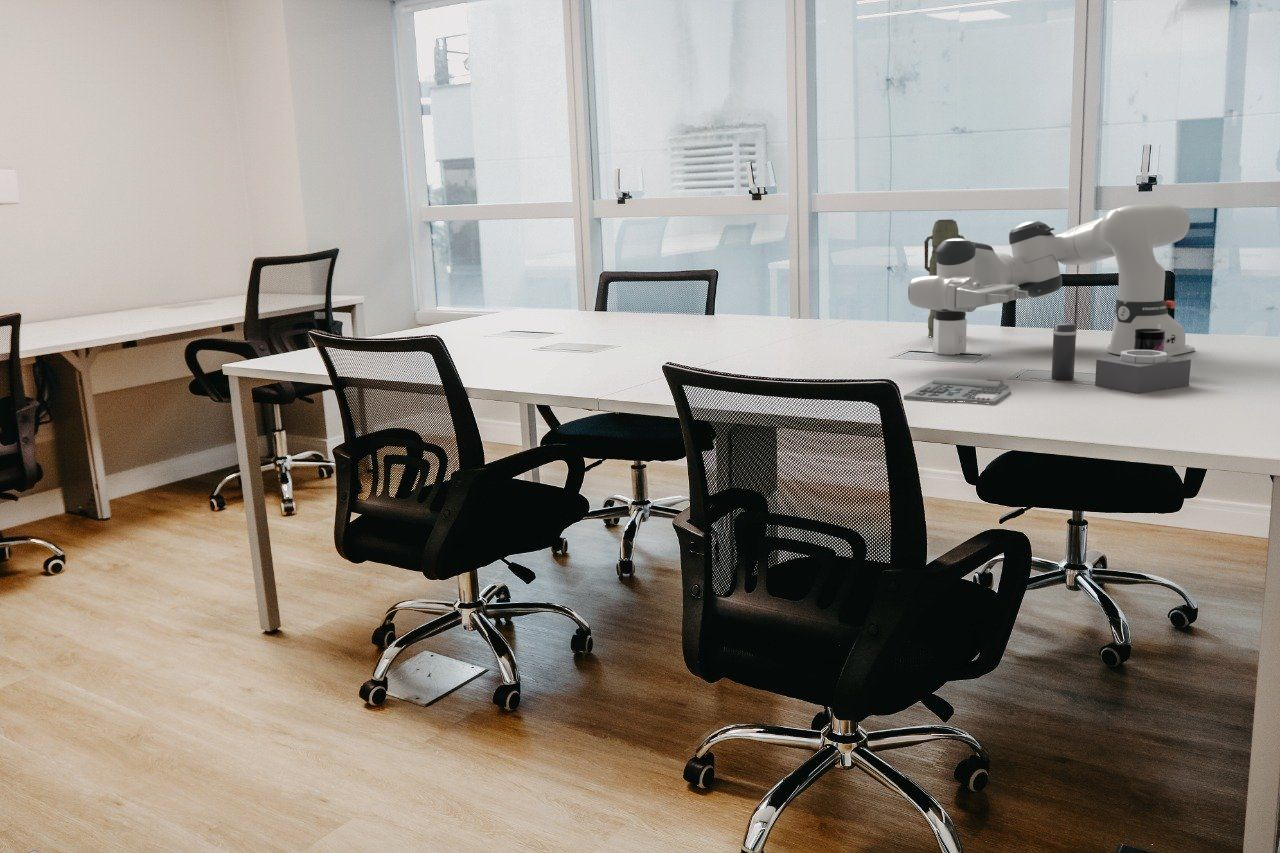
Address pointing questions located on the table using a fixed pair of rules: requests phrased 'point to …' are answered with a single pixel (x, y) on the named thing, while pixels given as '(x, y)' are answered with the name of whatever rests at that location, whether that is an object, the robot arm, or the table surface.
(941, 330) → the jar
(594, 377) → the table surface
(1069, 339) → the lens
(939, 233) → the thermos
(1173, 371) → the camera body
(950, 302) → the robot arm
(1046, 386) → the table surface
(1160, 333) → the supplement container
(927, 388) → the office telephone
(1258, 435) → the table surface
